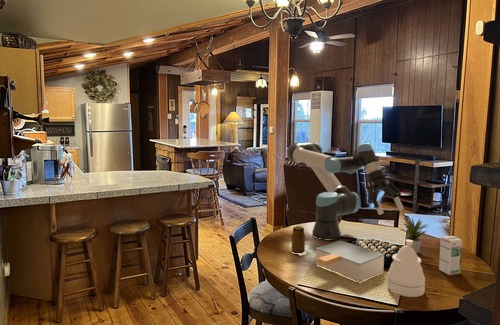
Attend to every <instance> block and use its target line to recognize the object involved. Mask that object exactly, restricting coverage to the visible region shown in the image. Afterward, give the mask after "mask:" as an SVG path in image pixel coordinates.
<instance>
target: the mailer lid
mask: <svg viewBox="0 0 500 325" xmlns="http://www.w3.org/2000/svg"><path fill="white" fill-rule="evenodd" d="M315 250H316V251H317V250H319V251H322V252H325V253H327V254H329V255H326V256H323V257H320V258H318V263H320V264H322V265H325V266H326V265H329V264H332V263H335V262H337V261H340V259H344V260H347V261H350V262H352V263H355V264H358V265H362V264H364V263H367V262H370V261H372V260H375V259H377V258H380V257H382V256H384V257H385V254H384V253H383V252H379V251H376V250H372V249H369V248H366V247H363V246H360V245H356V244H353V243H350V242H346V241H344V240H341V239H340V240H335V241H334V242H331V243H326V244H324V245H321V246H318V247H315Z"/></svg>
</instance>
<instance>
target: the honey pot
mask: <svg viewBox="0 0 500 325" xmlns="http://www.w3.org/2000/svg"><path fill="white" fill-rule="evenodd" d="M406 244H407V245H406ZM412 244H413V240H405V245H402V247H401V248H399V250H398V251H397V253H394V254H392V255H391V258H392V260H393V261H392V262H391V264H390V266H389V270H388V271H387V282H386V283H387V284H386V286H388V288H389V289H391V290H392V291H394V292H396V293H399V294H400V295H399V296H403V297H408V298H417V297H421V296H423V295H424V294H425V289H426V283H425V282H426V277H425V275H424V271H423V267H422V266H421V263H422V259H421V258H420V257H419V256H418V255H417V253H415V251H414V249H413V248H412V247H411V245H412ZM388 288H387V289H388ZM389 289H388V290H389ZM392 291H391V292H392ZM396 293H395V294H396Z"/></svg>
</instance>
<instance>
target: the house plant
mask: <svg viewBox="0 0 500 325" xmlns="http://www.w3.org/2000/svg"><path fill="white" fill-rule="evenodd" d="M401 223H403V224H404V225H405V228H406V229H407V230H405V229H403V228H402V229H401V228H400V229H399V230H400V231H403V232H405V233H406V234H407V236H405V241H406V240H413V244H412V245H411V247H412V248H413V249H414V251H415V253H416V254H418V253H419V252H420V247H421V245H422V244H421V243H422V238H421V236H424V237H426V234H427V231H426V230H423V231H422V229H425V228H429V223H427V224H423V225H422V223H423V220H421V218H419V219H418V221H417V222H416V224H415V222H414V218H413V217H412V218H411V220H410V218H407V222H406V223H405V221H401ZM426 238H427V237H426ZM405 245H407V244H406V243H405Z"/></svg>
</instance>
